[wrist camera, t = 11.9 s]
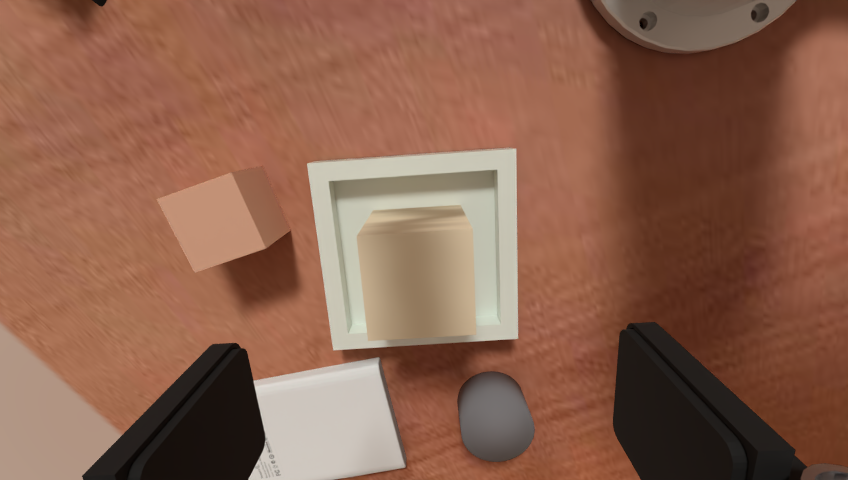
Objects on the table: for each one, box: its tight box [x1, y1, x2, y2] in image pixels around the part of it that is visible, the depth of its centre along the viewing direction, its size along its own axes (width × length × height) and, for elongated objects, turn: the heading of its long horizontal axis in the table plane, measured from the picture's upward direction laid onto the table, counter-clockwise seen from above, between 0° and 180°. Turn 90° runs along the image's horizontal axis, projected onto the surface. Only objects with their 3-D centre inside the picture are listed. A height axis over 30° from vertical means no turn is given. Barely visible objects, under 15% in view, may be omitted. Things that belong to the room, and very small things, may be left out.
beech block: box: [357, 205, 476, 341], centre depth 21 cm, size 5×5×6 cm
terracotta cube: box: [157, 166, 291, 272], centre depth 22 cm, size 4×4×4 cm
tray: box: [307, 148, 518, 350], centre depth 24 cm, size 11×11×2 cm
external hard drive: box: [248, 357, 406, 480], centre depth 27 cm, size 2×8×12 cm
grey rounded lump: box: [457, 372, 535, 462], centre depth 26 cm, size 4×4×3 cm
